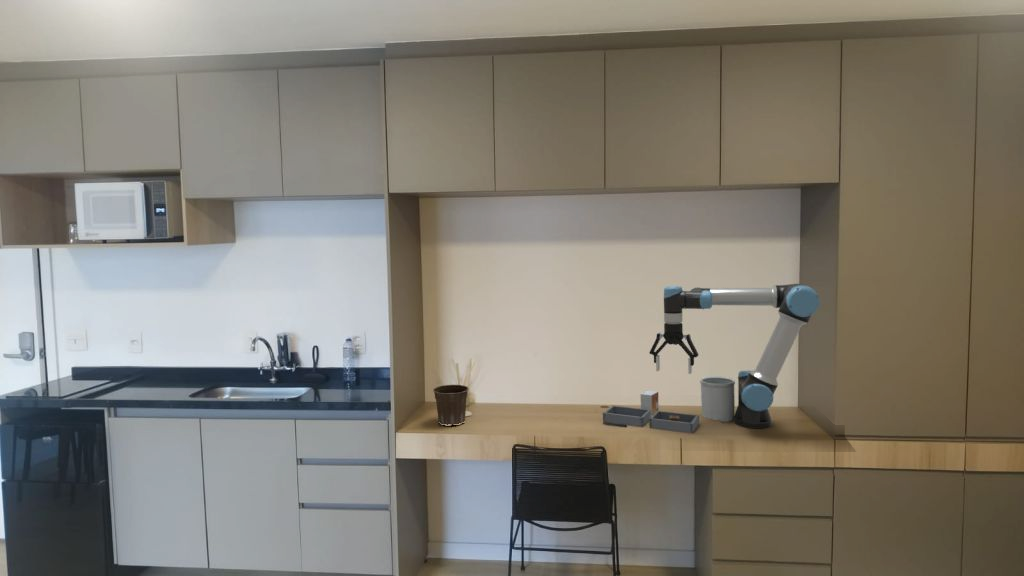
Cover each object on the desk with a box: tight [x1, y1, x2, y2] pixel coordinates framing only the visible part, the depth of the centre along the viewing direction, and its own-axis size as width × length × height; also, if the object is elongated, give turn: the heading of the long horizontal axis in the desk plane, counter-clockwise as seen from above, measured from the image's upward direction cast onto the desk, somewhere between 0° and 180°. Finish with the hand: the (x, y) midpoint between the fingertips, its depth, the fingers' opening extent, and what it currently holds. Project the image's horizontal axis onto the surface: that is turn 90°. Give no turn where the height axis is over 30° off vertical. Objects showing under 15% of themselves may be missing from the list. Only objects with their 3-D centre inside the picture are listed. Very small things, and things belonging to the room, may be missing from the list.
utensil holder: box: [699, 375, 736, 423], centre depth 263 cm, size 15×15×18 cm
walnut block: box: [669, 415, 679, 421], centre depth 251 cm, size 4×4×4 cm
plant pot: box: [432, 384, 469, 425], centre depth 269 cm, size 16×16×16 cm
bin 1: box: [602, 405, 652, 428], centre depth 262 cm, size 18×13×5 cm
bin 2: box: [648, 410, 700, 434], centre depth 251 cm, size 18×13×5 cm
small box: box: [640, 390, 660, 417], centre depth 271 cm, size 8×6×10 cm
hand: (673, 371), depth 250 cm, fingers open, 13 cm apart
